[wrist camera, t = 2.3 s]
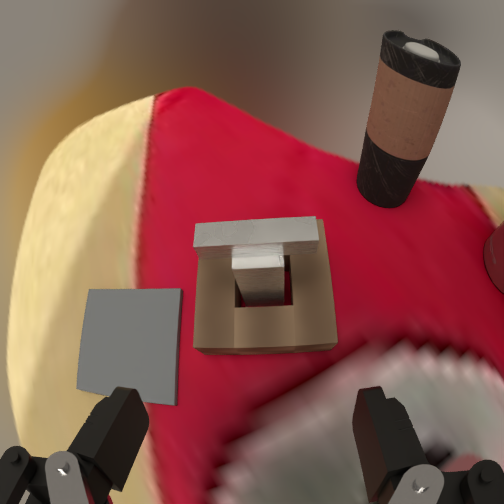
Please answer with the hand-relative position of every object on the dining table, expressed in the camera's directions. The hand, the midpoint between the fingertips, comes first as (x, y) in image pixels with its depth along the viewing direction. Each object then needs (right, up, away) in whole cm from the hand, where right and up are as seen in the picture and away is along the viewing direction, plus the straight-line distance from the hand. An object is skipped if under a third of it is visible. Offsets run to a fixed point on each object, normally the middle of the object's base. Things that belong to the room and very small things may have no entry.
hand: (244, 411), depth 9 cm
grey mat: (-13, -4, +19) cm, 23 cm away
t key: (+2, +1, +20) cm, 20 cm away
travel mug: (+17, +14, +25) cm, 34 cm away
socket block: (+2, +1, +20) cm, 20 cm away
